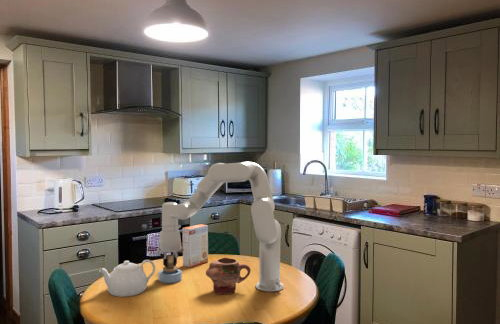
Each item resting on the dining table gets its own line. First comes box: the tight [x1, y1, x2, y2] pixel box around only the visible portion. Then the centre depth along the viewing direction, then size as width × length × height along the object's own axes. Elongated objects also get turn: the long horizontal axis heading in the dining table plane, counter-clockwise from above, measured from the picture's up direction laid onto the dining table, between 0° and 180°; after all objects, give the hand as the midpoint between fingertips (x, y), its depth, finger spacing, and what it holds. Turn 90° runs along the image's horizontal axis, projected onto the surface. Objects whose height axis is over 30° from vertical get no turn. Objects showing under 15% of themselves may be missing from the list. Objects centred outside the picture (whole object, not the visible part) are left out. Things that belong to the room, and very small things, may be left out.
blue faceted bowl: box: [157, 268, 183, 285], centre depth 204 cm, size 11×11×4 cm
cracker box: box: [181, 223, 209, 268], centre depth 231 cm, size 14×6×21 cm, turn 141°
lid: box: [162, 254, 178, 272], centre depth 204 cm, size 6×6×7 cm
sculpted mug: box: [205, 257, 252, 295], centre depth 189 cm, size 20×12×14 cm, turn 103°
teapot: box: [98, 259, 156, 298], centre depth 189 cm, size 19×18×14 cm
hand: (170, 265), depth 204 cm, fingers closed on lid, 3 cm apart
